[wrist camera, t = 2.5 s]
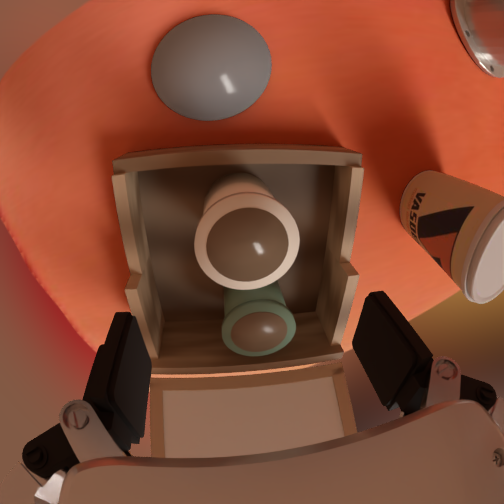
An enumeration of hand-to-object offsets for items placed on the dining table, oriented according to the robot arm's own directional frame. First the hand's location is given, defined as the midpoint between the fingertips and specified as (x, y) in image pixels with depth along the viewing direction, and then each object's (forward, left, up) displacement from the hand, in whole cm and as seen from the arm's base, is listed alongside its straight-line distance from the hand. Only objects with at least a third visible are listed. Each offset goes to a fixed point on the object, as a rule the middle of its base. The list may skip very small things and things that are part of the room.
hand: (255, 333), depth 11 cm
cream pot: (0, 0, -14) cm, 14 cm away
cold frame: (+4, 0, -15) cm, 15 cm away
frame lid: (+16, 0, +2) cm, 16 cm away
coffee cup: (0, +20, -15) cm, 25 cm away
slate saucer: (-12, -2, -15) cm, 19 cm away
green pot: (+8, +1, -14) cm, 16 cm away
